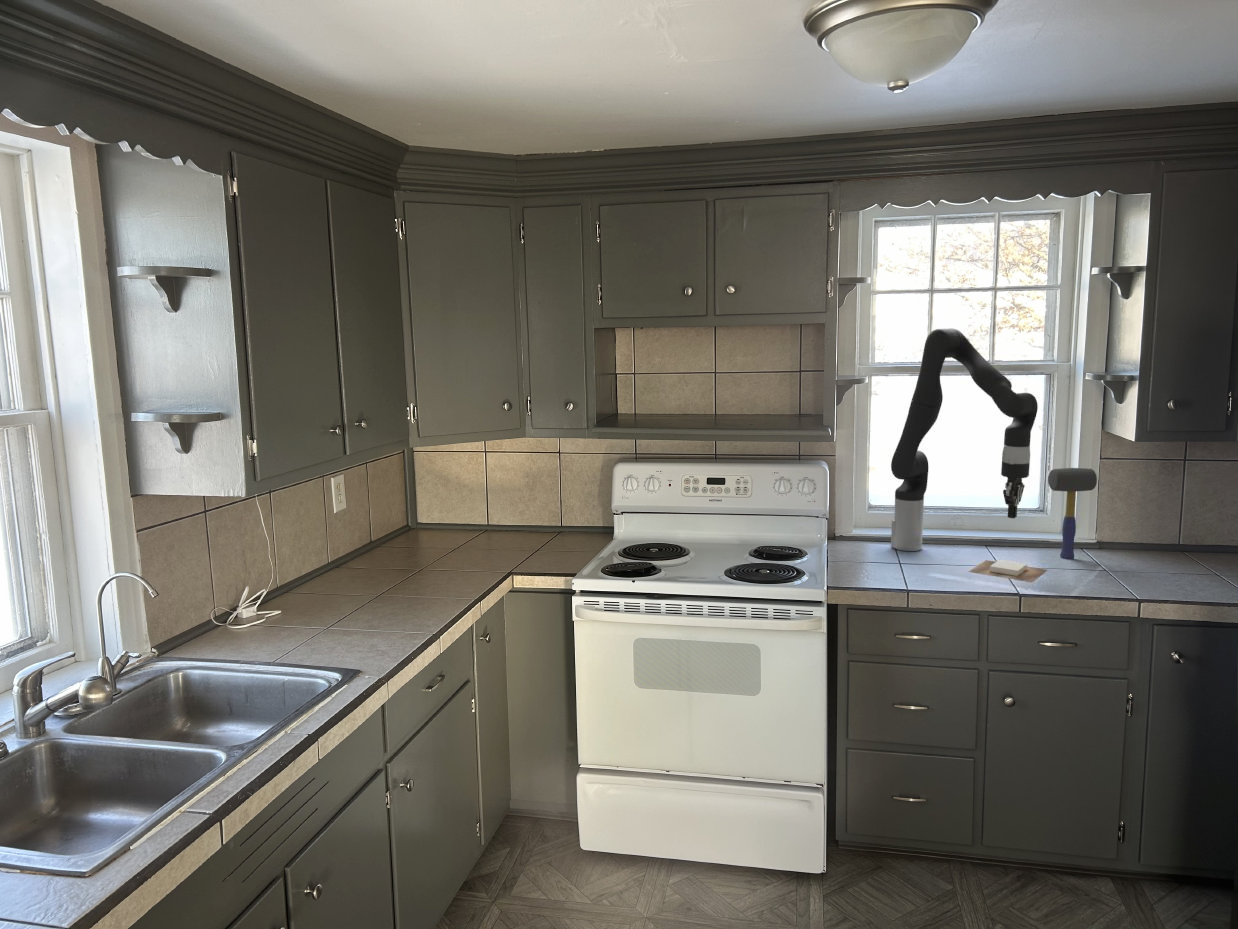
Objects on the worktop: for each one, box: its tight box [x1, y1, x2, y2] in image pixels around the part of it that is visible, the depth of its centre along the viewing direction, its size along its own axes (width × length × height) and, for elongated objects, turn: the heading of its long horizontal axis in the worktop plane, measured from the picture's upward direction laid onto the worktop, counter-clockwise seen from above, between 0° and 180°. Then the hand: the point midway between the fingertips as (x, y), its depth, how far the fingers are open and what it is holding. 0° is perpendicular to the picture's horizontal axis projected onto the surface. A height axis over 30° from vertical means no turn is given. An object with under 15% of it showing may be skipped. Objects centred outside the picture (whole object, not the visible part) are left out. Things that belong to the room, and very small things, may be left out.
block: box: [990, 559, 1028, 576], centre depth 257 cm, size 8×2×9 cm
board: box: [968, 559, 1048, 583], centre depth 257 cm, size 18×16×1 cm
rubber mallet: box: [1047, 467, 1098, 560], centre depth 268 cm, size 12×8×30 cm, turn 88°
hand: (1012, 517), depth 255 cm, fingers closed
